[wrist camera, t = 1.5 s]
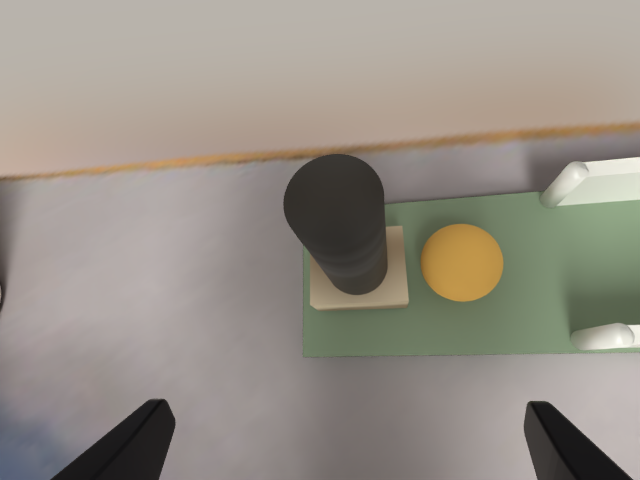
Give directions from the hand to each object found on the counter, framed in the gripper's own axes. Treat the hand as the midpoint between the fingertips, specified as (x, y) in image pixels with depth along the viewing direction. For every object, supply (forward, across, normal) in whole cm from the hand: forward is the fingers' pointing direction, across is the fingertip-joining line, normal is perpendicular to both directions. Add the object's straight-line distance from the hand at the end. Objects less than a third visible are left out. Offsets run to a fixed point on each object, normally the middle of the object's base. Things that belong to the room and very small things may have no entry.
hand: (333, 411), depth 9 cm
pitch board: (+13, -7, +5) cm, 16 cm away
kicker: (+12, 0, +4) cm, 13 cm away
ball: (+11, -5, +2) cm, 12 cm away
